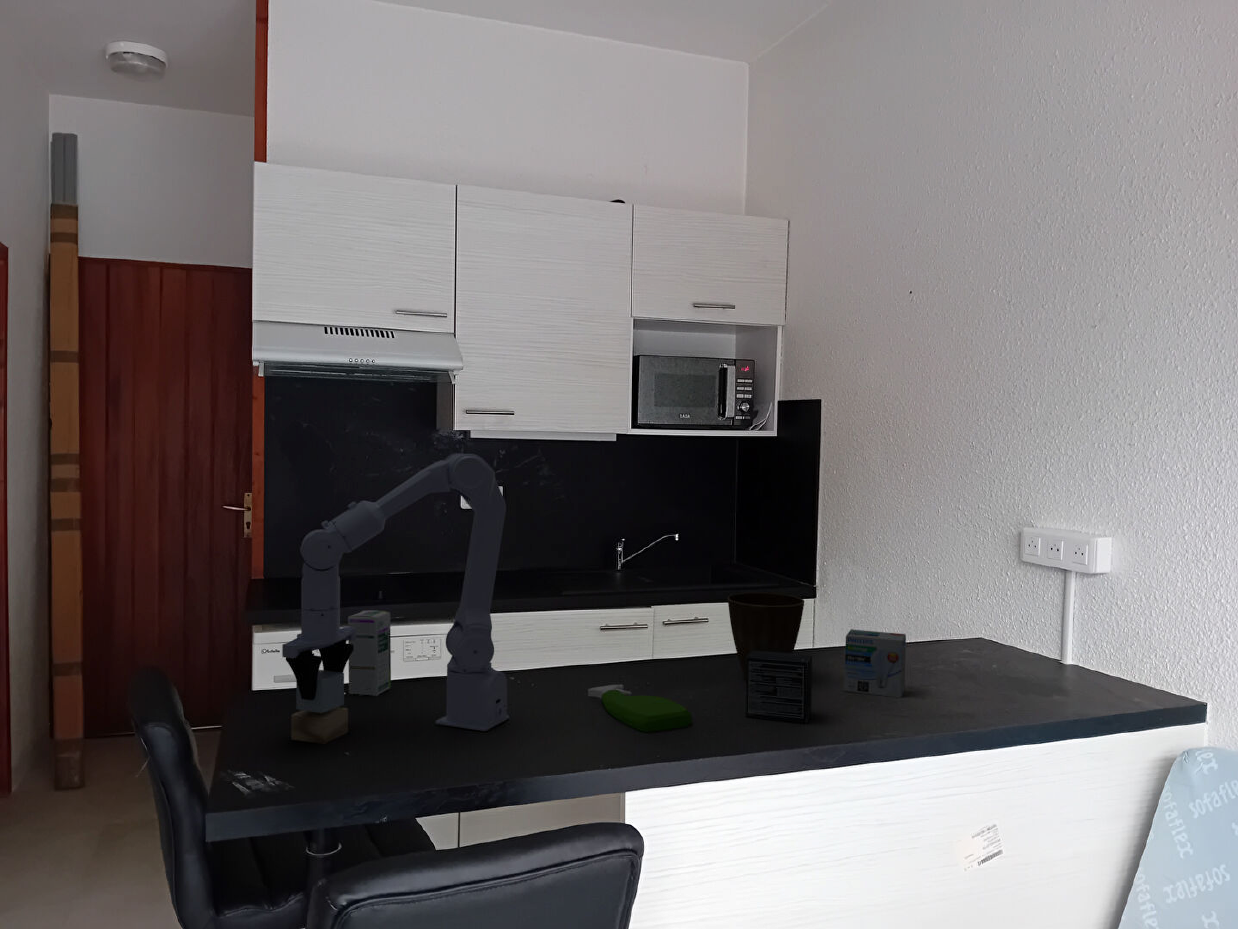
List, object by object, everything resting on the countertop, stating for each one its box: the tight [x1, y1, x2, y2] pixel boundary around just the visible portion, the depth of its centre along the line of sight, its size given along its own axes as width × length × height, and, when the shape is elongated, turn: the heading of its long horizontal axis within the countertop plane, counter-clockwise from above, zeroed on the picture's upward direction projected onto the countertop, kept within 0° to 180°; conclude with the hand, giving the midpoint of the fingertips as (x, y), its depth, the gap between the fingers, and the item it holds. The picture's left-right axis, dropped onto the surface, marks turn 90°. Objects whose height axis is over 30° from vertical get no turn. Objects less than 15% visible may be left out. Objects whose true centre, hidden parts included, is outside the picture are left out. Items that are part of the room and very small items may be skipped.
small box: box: [745, 651, 813, 725], centre depth 158 cm, size 11×6×10 cm, turn 71°
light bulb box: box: [843, 628, 907, 699], centre depth 175 cm, size 11×7×11 cm, turn 68°
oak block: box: [290, 706, 349, 745], centre depth 144 cm, size 6×6×4 cm
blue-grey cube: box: [295, 669, 345, 713], centre depth 144 cm, size 5×5×5 cm
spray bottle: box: [587, 684, 693, 733], centre depth 160 cm, size 3×11×24 cm
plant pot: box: [727, 592, 805, 680], centre depth 182 cm, size 15×15×16 cm
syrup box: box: [347, 609, 392, 697], centre depth 169 cm, size 6×6×14 cm
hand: (320, 694), depth 144 cm, fingers closed on blue-grey cube, 5 cm apart
